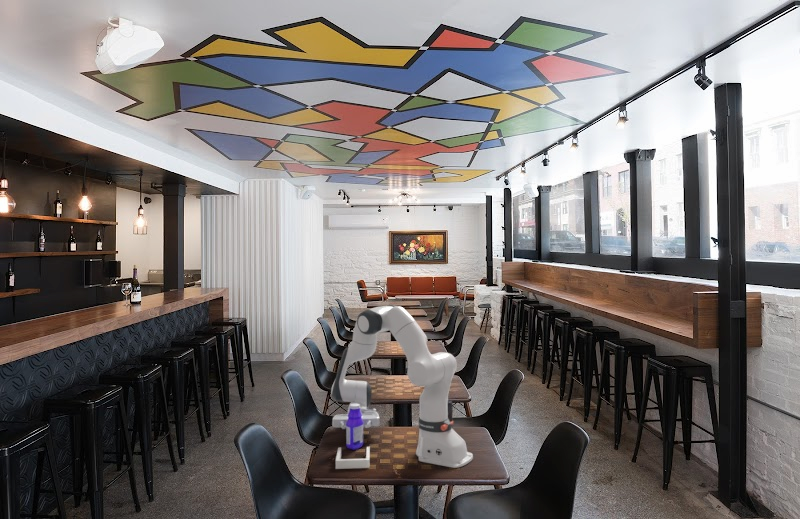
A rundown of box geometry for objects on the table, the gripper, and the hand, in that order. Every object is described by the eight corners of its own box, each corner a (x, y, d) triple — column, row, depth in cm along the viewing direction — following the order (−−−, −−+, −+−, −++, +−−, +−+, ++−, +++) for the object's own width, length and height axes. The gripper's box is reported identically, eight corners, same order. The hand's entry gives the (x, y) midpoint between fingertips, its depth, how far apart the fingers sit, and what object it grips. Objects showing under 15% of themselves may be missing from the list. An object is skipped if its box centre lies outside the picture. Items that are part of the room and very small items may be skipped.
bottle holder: (338, 455, 189) (338, 447, 189) (369, 454, 189) (369, 446, 189) (335, 468, 176) (335, 460, 176) (369, 467, 177) (369, 459, 177)
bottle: (355, 442, 201) (355, 401, 201) (365, 445, 198) (365, 403, 198) (343, 448, 196) (343, 405, 196) (354, 451, 192) (353, 408, 192)
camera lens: (433, 437, 207) (432, 402, 207) (435, 430, 215) (435, 397, 215) (451, 438, 205) (451, 403, 205) (453, 431, 213) (453, 398, 213)
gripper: (333, 409, 213) (330, 420, 199) (379, 408, 214) (379, 418, 200) (333, 423, 213) (330, 435, 199) (379, 422, 214) (379, 433, 200)
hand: (355, 426), depth 199 cm, fingers open, 8 cm apart
